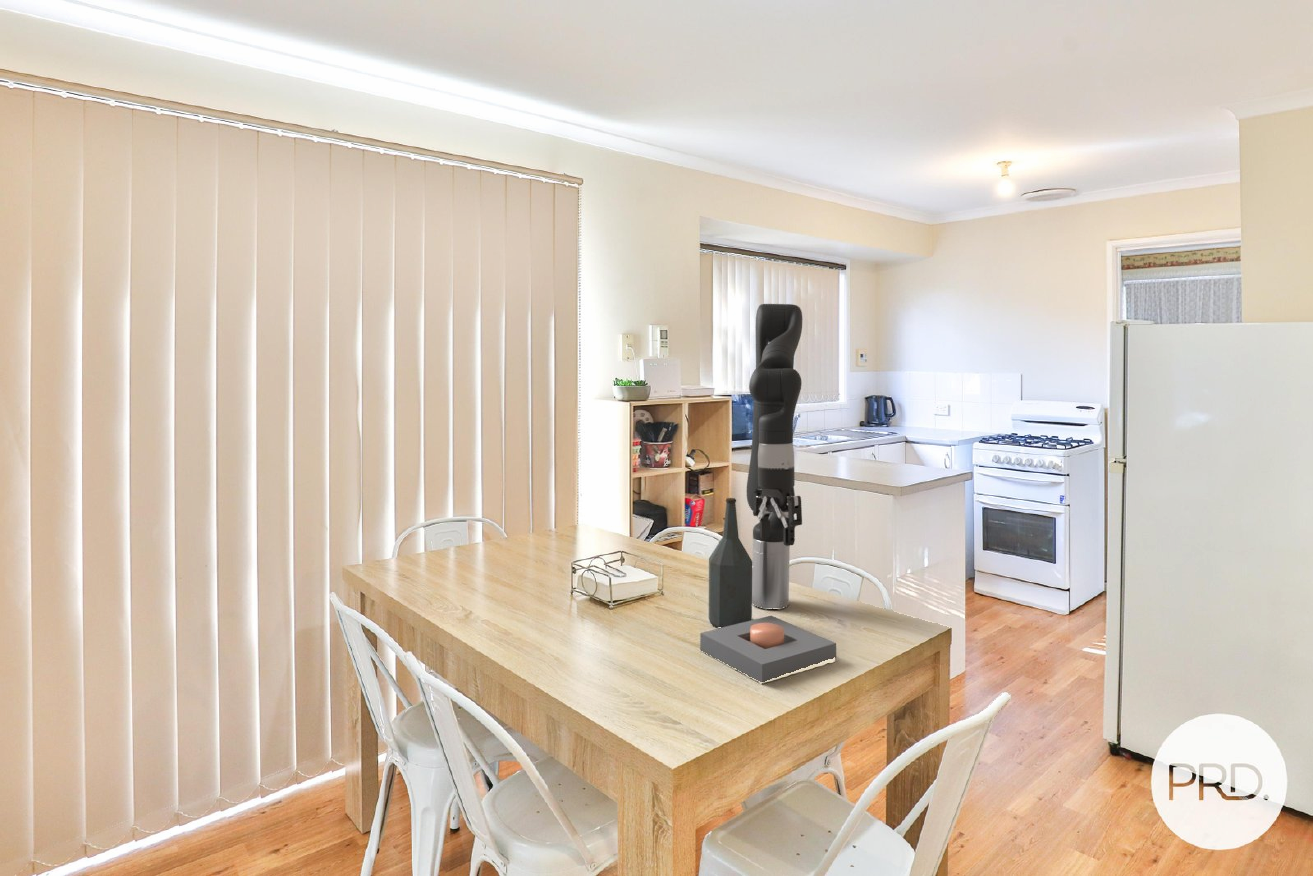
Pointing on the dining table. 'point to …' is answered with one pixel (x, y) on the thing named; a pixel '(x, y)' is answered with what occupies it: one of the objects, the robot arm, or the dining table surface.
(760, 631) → the button cap
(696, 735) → the dining table surface
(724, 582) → the bottle
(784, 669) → the button box
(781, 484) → the robot arm
